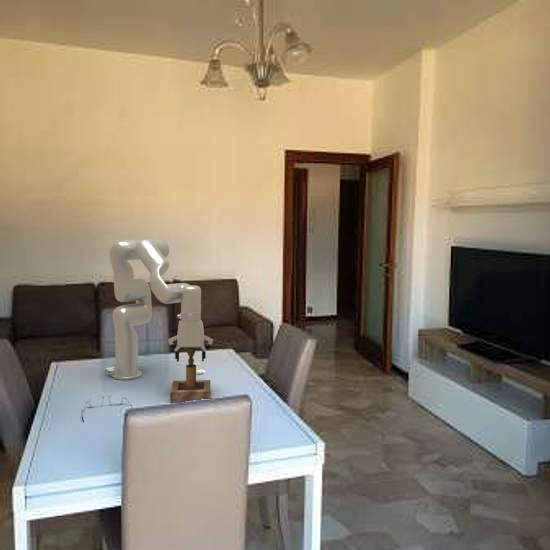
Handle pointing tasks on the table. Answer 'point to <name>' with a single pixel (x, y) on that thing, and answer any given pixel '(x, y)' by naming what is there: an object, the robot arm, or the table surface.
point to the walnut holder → (189, 391)
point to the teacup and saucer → (198, 370)
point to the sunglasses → (103, 399)
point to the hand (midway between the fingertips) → (190, 360)
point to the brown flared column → (191, 372)
